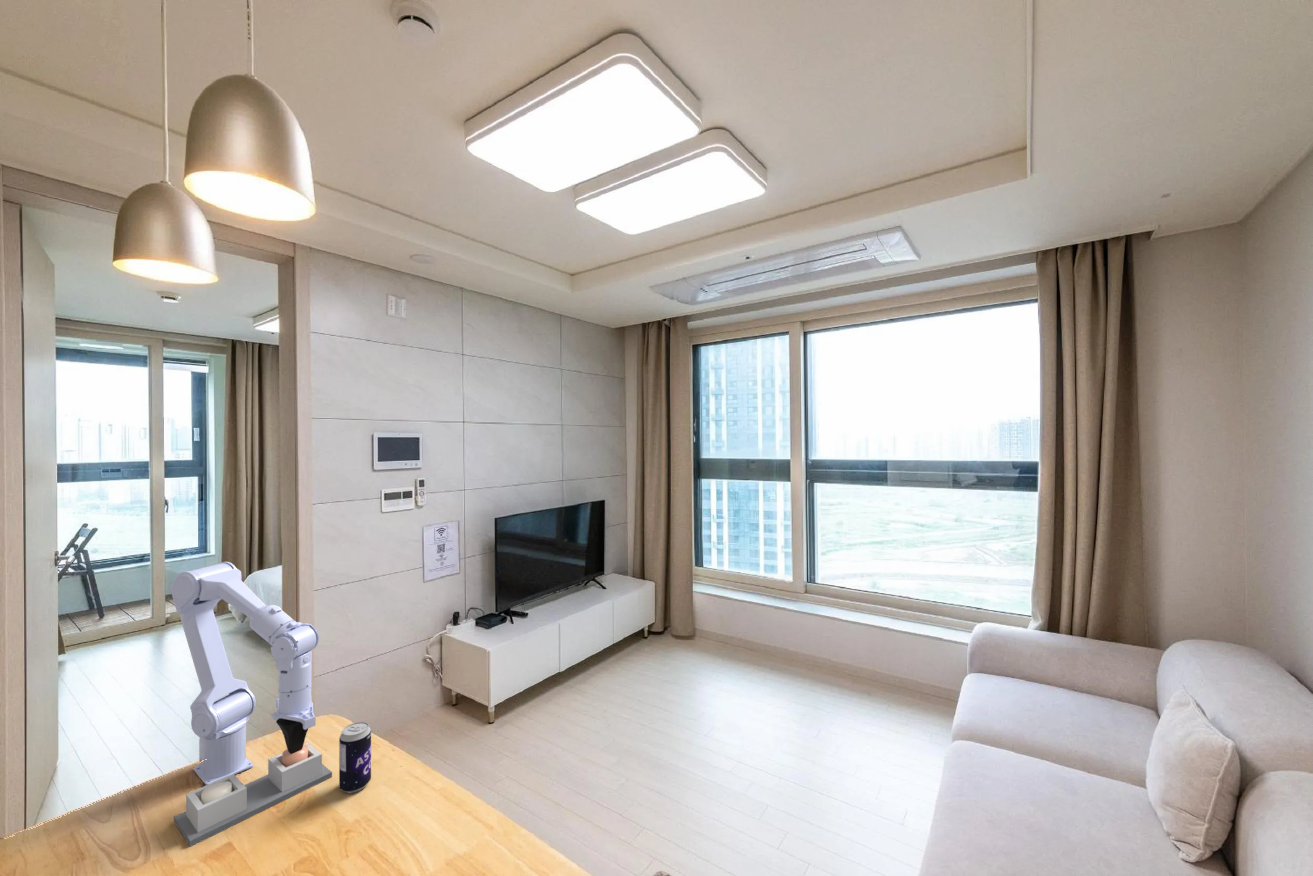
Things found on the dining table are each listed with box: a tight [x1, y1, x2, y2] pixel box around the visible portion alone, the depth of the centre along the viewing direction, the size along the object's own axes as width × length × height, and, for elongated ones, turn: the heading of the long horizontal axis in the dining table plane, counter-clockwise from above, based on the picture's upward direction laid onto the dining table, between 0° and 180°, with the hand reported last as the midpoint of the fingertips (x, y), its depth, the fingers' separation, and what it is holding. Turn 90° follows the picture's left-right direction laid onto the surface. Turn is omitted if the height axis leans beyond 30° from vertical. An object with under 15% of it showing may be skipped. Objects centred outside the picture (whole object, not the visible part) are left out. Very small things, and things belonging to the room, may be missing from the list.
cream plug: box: [201, 781, 232, 805], centre depth 98 cm, size 4×4×4 cm
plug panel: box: [173, 742, 333, 847], centre depth 104 cm, size 10×23×5 cm, turn 145°
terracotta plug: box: [282, 744, 308, 767], centre depth 109 cm, size 4×4×4 cm
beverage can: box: [338, 721, 372, 794], centre depth 107 cm, size 6×6×12 cm
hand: (295, 750), depth 109 cm, fingers closed, pressing on terracotta plug
